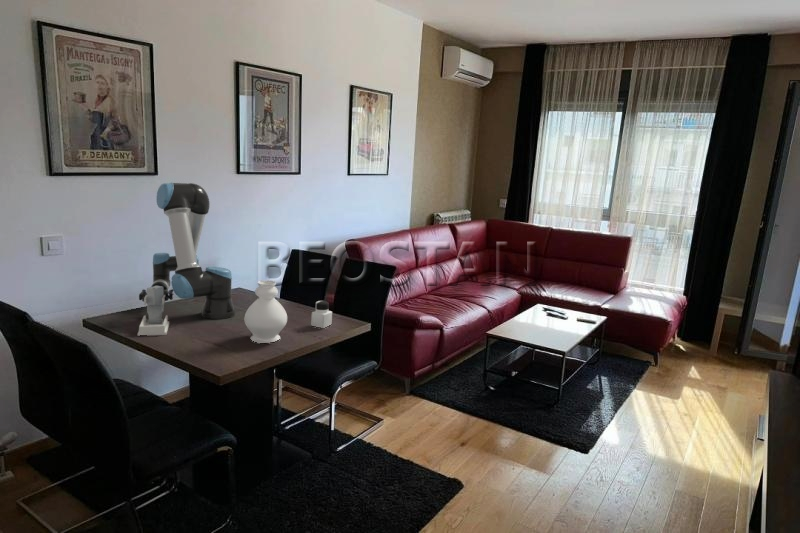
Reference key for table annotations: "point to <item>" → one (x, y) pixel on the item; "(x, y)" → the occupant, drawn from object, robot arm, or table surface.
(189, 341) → the table surface
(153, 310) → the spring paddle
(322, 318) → the medicine bottle
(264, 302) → the decorative vase
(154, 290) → the skincare box
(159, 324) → the white rectangular tray
